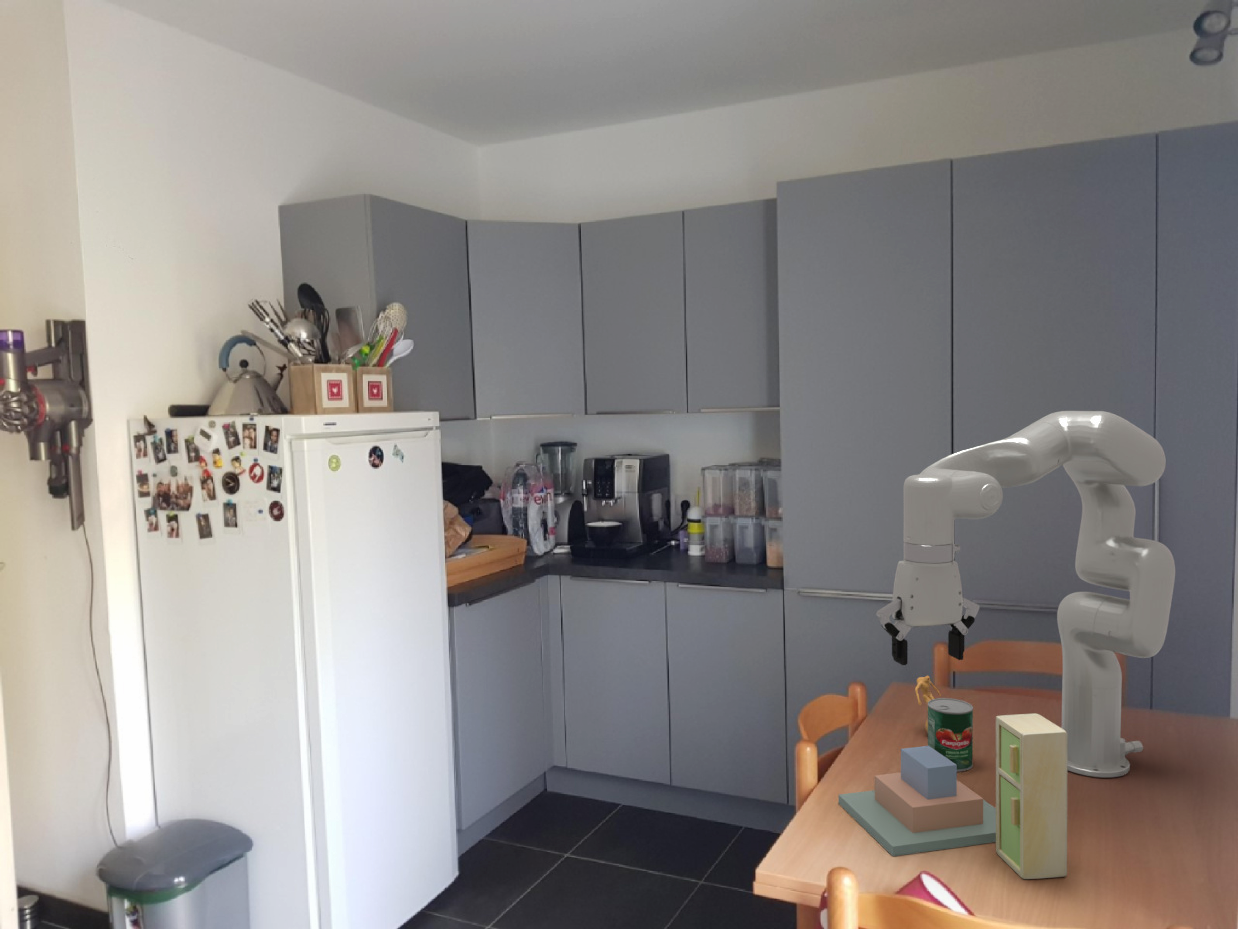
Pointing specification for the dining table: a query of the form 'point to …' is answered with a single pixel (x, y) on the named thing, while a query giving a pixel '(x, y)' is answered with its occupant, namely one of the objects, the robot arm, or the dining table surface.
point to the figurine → (925, 692)
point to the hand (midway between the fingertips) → (928, 660)
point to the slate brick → (929, 772)
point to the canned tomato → (951, 730)
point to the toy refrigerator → (1031, 795)
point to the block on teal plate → (920, 817)
